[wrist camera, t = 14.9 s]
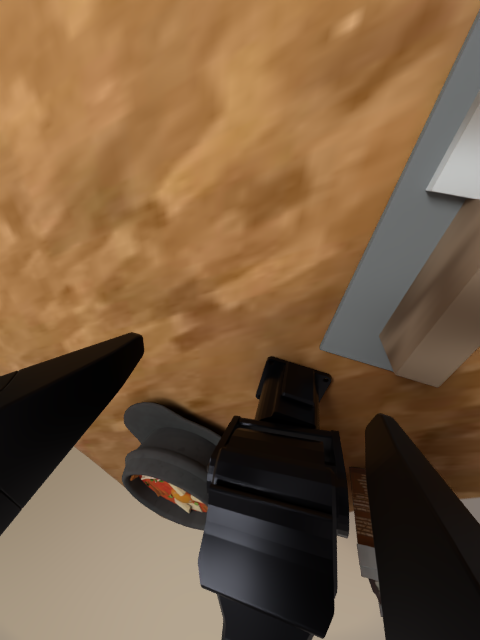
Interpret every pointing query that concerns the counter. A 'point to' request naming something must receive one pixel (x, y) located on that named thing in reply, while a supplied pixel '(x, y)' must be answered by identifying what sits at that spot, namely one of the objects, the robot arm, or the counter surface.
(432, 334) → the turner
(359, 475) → the food container
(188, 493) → the casserole
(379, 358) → the rest mat
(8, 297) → the counter surface
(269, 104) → the counter surface
